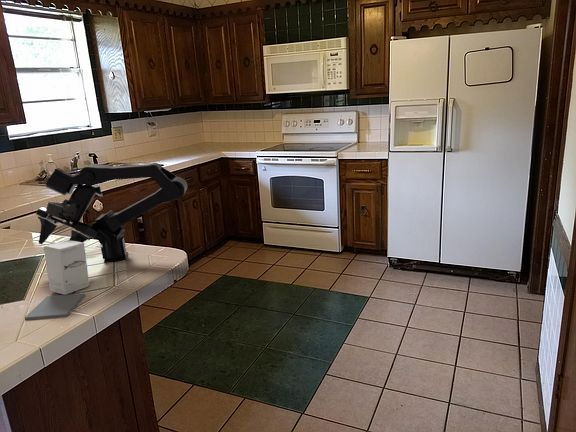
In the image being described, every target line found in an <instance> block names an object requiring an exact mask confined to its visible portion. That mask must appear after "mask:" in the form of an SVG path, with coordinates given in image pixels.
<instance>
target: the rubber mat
mask: <svg viewBox="0 0 576 432" xmlns="http://www.w3.org/2000/svg"><path fill="white" fill-rule="evenodd" d="M85 296H86V293H84V292H82V293H69V294H66V295H63V294H59V295H49V296H48V295H47V296H45V298H43V300H41V301H40V302H39V303H38V304H37V305H36V306H35V307H33V309H32V310H31V311H30V312H29V313H28V314H27V315H26V316H25V317H24V320H26V321H27V320H38V319H51V318H62V317H63V318H64V317H68V315H70V314H71V313H72V311H73V310H74V309H75V308H76V307H77V305H79V303H80V302H81V301H82V300H83V299H84V298H85Z"/></svg>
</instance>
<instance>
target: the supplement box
mask: <svg viewBox="0 0 576 432" xmlns="http://www.w3.org/2000/svg"><path fill="white" fill-rule="evenodd" d="M43 251H44V252H43V253H44V259H45V266H46V272H47V279H48V287H49V291H51V292H54V293H57V294H59V295H69V294H72V293H74V292H76V291H80V290H82V289H85V288H88V287H90V281H89V271H88V264H87V255H86V247H85V242H77V241H71V240H69V239H68V240H63V241H61V242H60V241H59V242H56V243H51V244H47V245H43Z"/></svg>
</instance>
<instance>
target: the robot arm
mask: <svg viewBox="0 0 576 432" xmlns="http://www.w3.org/2000/svg"><path fill="white" fill-rule="evenodd" d="M144 178H151V180H153V181H154V182H155V183H156V184H157V186H159V187H160V188H159V189H158V190H156V192H153V193H151V194H150V195H148V196H146V197H144V198H142V199H141V200H139V201H137V202H135V203H133V204H132V205H129V206H127V207H125V208H123V209H122V210H120V211H118V212H114V210H112V209H110V210H109V211H108V212H106V213H103V214H100V216H98V217H96V219H95V220H94V223H93V224H92V225H89V224H87V223H85V222H83V221H81V220H82V218H83V216H84V214H86V215H87V214H89V212H90V211H89V210H88V208H89V206H90V205H91V202H92V201H93V200H94V197H96V195H97V196H98V197H100V198H102V197H103V193H102V188H101V186H97V185H101V184H103V183H104V184H105V183H107V182H110V181H114V180H115V181H116V180H117V181H118V180H131V179H132V180H133V179H144ZM95 186H96V187H95ZM45 188H47V189H49V190H51V191H53V192H55V193H58V194H61V195H62V196H67V195H70V197H69V198H68V199H64V200H63V201H62V202H54V201H53V202H51V201H48V203H47V206H46V207H43V206H42V207H39V208H38V210H37V211H36V213H35V215H37V219H38V220H39V222H40V225H41V226H40V232H39V239H38V244H39V245H43V244H44V243H45V242H46V241H47V239H48V238H49V237H50V236H51V234H52V233H53V232H54V231H55V229H56V228H57V227H58V225H57V224H58V223H59V224H61V225H64V226H67V227H69V228H72V229H71V230H70V231H71V236H70V237H69V239H68V240H71V241H77V242H83V243H85V242H86V241H91V239H94V240H95V239H97V241H98V242H99V244H100V245H101V246H100V251H101V255H102V260H103V262H104V263H112V262H119V261H125V260H127V257H128V254H129V252H128V251H127V247H126V242H125V237H124V235H125V231H126V230H125V228H124V227H123V225H124V224H126V223H127V222H130V221H132V220H133V219H135V218H137V217H139V216H141V215H142V214H145V213H146V212H148V211H150V210H152V209H154V208H156V207H158V206H160V205H161V204H166V203H170V202H173V201H177V200H180V199H181V198H182V197H183V196H184V195H185V194H186V192H187V189H188V183H187V181H186V179H185V178H182V177H181V176H177V175H176V174H174V173H173V172H171V171H169V170H168V169H166V168H164V167H163V166H162V165H161V164H159V163H158V162H152V163H145V164H143V163H142V164H129V165H117V166H115V165H108V164H103V163H102V164H101V163H91V164H89V165H87V166H85V167H83V168H82V169H80V171H79V173H76V174H74V175H73V174H71V173H69V172H67V171H64V170H63V169H62V168H60V167H57V168H54V171H53V172H52V173H51V174H50V176H49V178H47V181H46V182H45Z"/></svg>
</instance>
